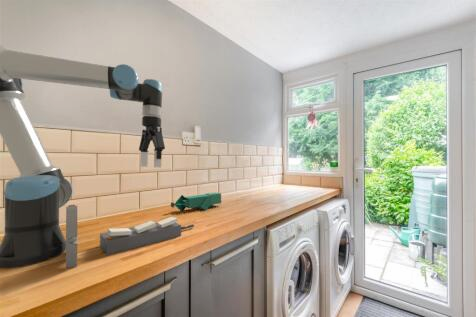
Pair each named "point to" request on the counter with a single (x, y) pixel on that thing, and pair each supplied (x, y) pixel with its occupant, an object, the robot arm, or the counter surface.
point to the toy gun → (71, 236)
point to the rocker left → (119, 231)
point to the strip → (139, 238)
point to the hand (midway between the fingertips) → (150, 167)
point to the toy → (198, 201)
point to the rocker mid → (144, 226)
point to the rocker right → (167, 222)
